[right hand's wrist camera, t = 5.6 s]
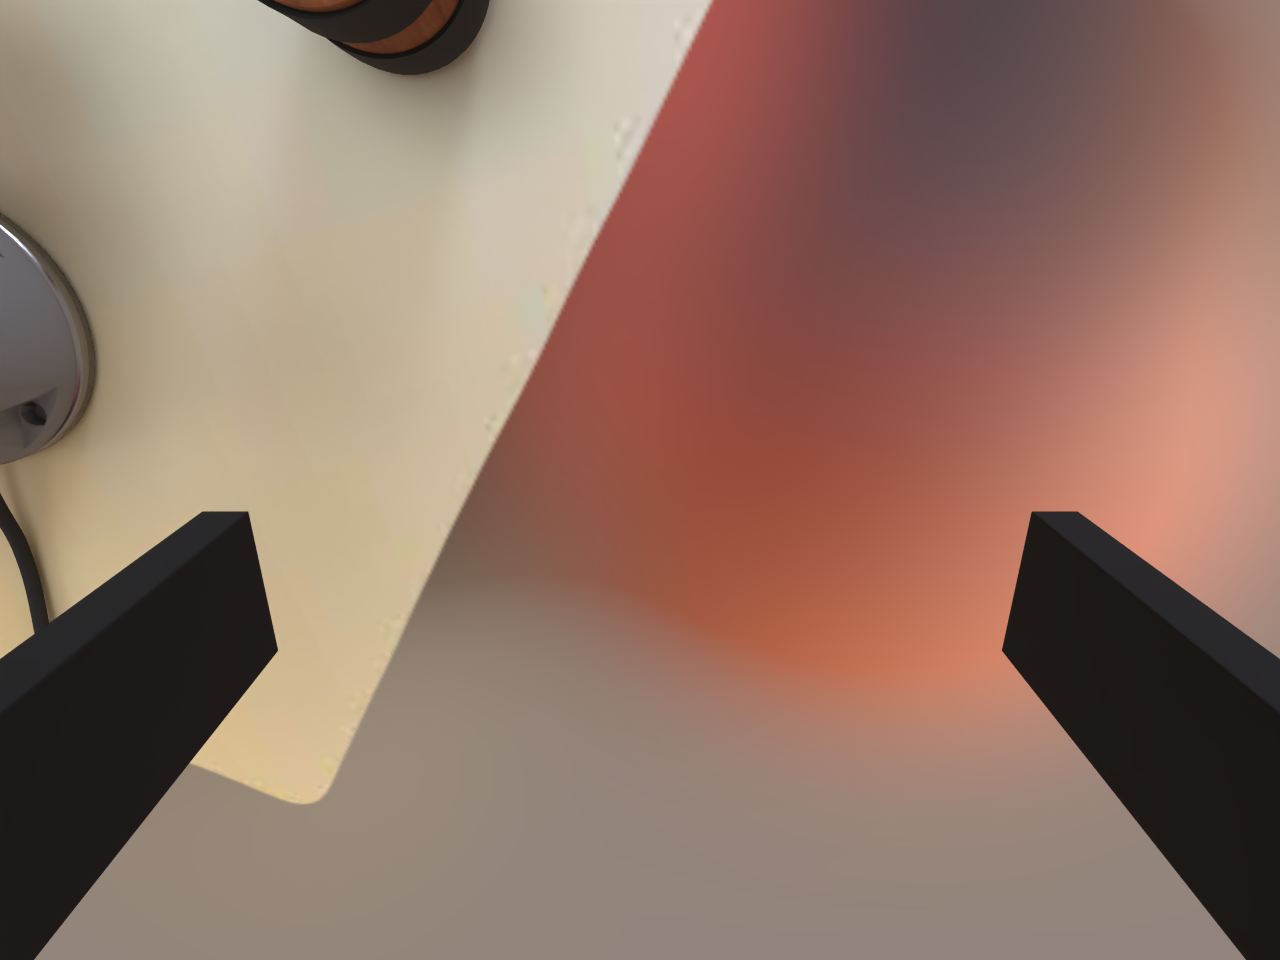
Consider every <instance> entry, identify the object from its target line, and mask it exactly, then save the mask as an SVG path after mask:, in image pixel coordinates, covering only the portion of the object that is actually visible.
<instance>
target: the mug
mask: <svg viewBox="0 0 1280 960" xmlns="http://www.w3.org/2000/svg"><path fill="white" fill-rule="evenodd" d="M258 1H260V2H262V3H263V4H265V5H267V6H268V7H270V8H272V9H274V10H276V11H278V12H280V13H282V14H284V15H285V16H287V17H289V18H291V19H292V20H294V21H295V22H297V23H299V24H300V25H302V26H304V27H305V28H307V29H309V30H310V31H312V32H314V33H316V34H319V35H321V36H323V37H326V38H327V39H328V40H329V41H331V42H332V43H333V44H335V45H336V46H338V47H339V48H340V49H342V50H343V51H345V52H346V53H348V54H350V55H351V56H353V57H355V58H356V59H358V60H360V61H362V62H364V63H366V64H368V65H370V66H373V67H375V68H377V69H380V70H384V71H387V72H390V73H396V74H403V75H416V74H422V73H428V72H431V71H434V70H437V69H439V68H441V67H443V66H446V65H448V64H449V63H450V62H452V61H453V60H455V59H456V58H458V57H459V56H460V55H461V54H462V53H463V52H464V51H465V50H466V49H467V48H468V46H469V45H470V44H471V43H472V41H473V40H474V38H475V37H476V35H477V33H478V32H479V30H480V28H481V26H482V23H483V21H484V19H485V16H486V12H487V9H488V5H489V0H258Z"/></svg>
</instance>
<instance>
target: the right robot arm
mask: <svg viewBox="0 0 1280 960" xmlns="http://www.w3.org/2000/svg"><path fill="white" fill-rule="evenodd" d="M94 373H95V356H94V348H93V341H92V337H91V332H90V328H89V325H88V322H87V319H86V316H85V314H84V311H83V309H82V307H81V304H80V302H79V300H78V298H77V296H76V294H75V292H74V290H73V289H72V287H71V285H70V284H69V282H68V280H67V279H66V277H65V276H64V274H63V273H62V272H61V270H60V269H59V268H58V266H57V265H56V263H55V262H54V261H53V260H52V259H51V257H50V256H49V255H48V254H47V253H46V252H45V251H44V249H43V248H42V247H41V246H40V245H39V244H38V243H37V242H36V241H35V240H34V239H33V238H32V237H30V236H29V235H28V234H27V233H26V232H25V231H23V230H22V229H21V228H20V227H19V226H18V225H16V224H15V223H13V222H12V221H11V220H9V219H8V218H7V217H5V216H4V215H2V214H1V213H0V464H5V463H9V462H12V461H16V460H19V459H21V458H24V457H26V456H29V455H31V454H33V453H36V452H38V451H40V450H43V449H45V448H47V447H49V446H50V445H52V444H54V443H55V442H57V441H58V440H60V439H61V438H63V437H64V436H65V435H66V434H67V433H68V432H69V431H70V430H71V429H72V428H73V427H74V426H75V424H76V423H77V422H78V420H79V419H80V417H81V416H82V414H83V413H84V410H85V408H86V406H87V404H88V402H89V398H90V395H91V392H92V387H93V382H94ZM0 528H1V530H2V531H3V533H4V534H5V536H6V538H7V540H8V542H9V544H10V546H11V548H12V550H13V553H14V555H15V558H16V561H17V563H18V566H19V569H20V572H21V575H22V579H23V582H24V586H25V590H26V594H27V598H28V603H29V607H30V612H31V617H32V623H33V628H34V633H35V634H34V635H33V636H31V637H30V638H28V639H27V640H26V641H24V642H23V643H22V644H20V645H19V646H17V647H16V648H15V649H13V650H12V651H11V652H9V653H8V654H6V655H5V656H4V657H2V658H1V659H0V960H34V959H35V958H36V956H37V955H38V954H39V953H40V951H41V950H42V949H43V948H44V946H45V945H46V944H47V943H48V941H49V940H50V939H51V937H52V936H53V935H54V934H55V932H56V931H57V930H58V929H59V927H60V926H61V925H62V924H63V922H64V921H65V920H66V918H67V917H68V916H69V915H70V913H71V912H72V911H73V910H74V908H75V907H76V906H77V905H78V903H79V902H80V901H81V899H82V898H83V897H84V896H85V894H86V893H87V892H88V891H89V889H90V888H91V887H92V886H93V884H94V883H95V882H96V880H97V879H98V878H99V877H100V875H101V874H102V873H103V872H104V870H105V869H106V868H107V867H108V865H109V864H110V863H111V862H112V860H113V859H114V858H115V856H116V855H117V854H118V853H119V851H120V850H121V849H122V848H123V846H124V845H125V844H126V842H127V841H128V840H129V839H130V837H131V836H132V835H133V834H134V832H135V831H136V830H137V829H138V827H139V826H140V825H141V824H142V822H143V821H144V820H145V818H146V817H147V816H148V815H149V813H150V812H151V811H152V810H153V808H154V807H155V806H156V805H157V803H158V802H159V801H160V799H161V798H162V797H163V796H164V794H165V793H166V792H167V791H168V789H169V788H170V787H171V786H172V784H173V783H174V782H175V781H176V779H177V778H178V777H179V775H180V774H181V773H182V772H183V770H184V769H185V768H186V767H187V765H188V764H189V763H190V762H191V760H192V759H193V758H194V756H195V755H196V754H197V753H198V751H199V750H200V749H201V748H202V746H203V745H204V744H205V743H206V741H207V740H208V739H209V737H210V736H211V735H212V734H213V732H214V731H215V730H216V729H217V727H218V726H219V725H220V724H221V722H222V721H223V720H224V718H225V717H226V716H227V715H228V713H229V712H230V711H231V710H232V708H233V707H234V706H235V705H236V703H237V702H238V701H239V699H240V698H241V697H242V696H243V694H244V693H245V692H246V691H247V689H248V688H249V687H250V686H251V684H252V683H253V682H254V681H255V679H256V678H257V677H258V675H259V674H260V673H261V672H262V670H263V669H264V668H265V667H266V665H267V664H268V663H269V662H270V660H271V659H272V658H273V656H274V655H275V654H276V653H277V651H278V648H277V643H276V639H275V634H274V629H273V625H272V620H271V615H270V611H269V606H268V601H267V597H266V592H265V588H264V583H263V578H262V574H261V569H260V564H259V560H258V555H257V550H256V546H255V541H254V536H253V532H252V527H251V522H250V518H249V513H248V512H201V513H200V514H198V515H197V516H196V517H194V518H193V519H192V520H190V521H189V522H187V523H186V524H185V525H183V526H182V527H181V528H179V529H178V530H177V531H175V532H174V533H172V534H171V535H170V536H168V537H167V538H166V539H164V540H163V541H161V542H160V543H159V544H157V545H156V546H155V547H153V548H152V549H150V550H149V551H148V552H146V553H145V554H144V555H142V556H141V557H140V558H138V559H137V560H135V561H134V562H133V563H131V564H130V565H129V566H127V567H126V568H124V569H123V570H122V571H120V572H119V573H118V574H116V575H115V576H113V577H112V578H111V579H109V580H108V581H107V582H105V583H104V584H102V585H101V586H100V587H98V588H97V589H96V590H94V591H93V592H92V593H90V594H89V595H87V596H86V597H85V598H83V599H82V600H81V601H79V602H78V603H76V604H75V605H74V606H72V607H71V608H70V609H68V610H67V611H65V612H64V613H63V614H61V615H60V616H59V617H57V618H56V619H54V620H53V621H52V622H50V623H49V621H48V615H47V610H46V605H45V600H44V595H43V590H42V586H41V582H40V578H39V574H38V571H37V567H36V564H35V561H34V558H33V555H32V553H31V550H30V547H29V545H28V542H27V540H26V538H25V536H24V534H23V532H22V530H21V528H20V527H19V525H18V523H17V522H16V520H15V518H14V517H13V515H12V513H11V512H10V510H9V508H8V507H7V505H6V503H5V501H4V499H3V497H2V495H1V494H0ZM1002 651H1003V653H1004V654H1005V655H1006V656H1007V658H1008V659H1009V660H1010V662H1011V663H1012V664H1013V665H1014V667H1015V668H1016V669H1017V670H1018V672H1019V673H1020V674H1021V675H1022V677H1023V678H1024V679H1025V681H1026V682H1027V683H1028V684H1029V686H1030V687H1031V688H1032V689H1033V691H1034V692H1035V693H1036V694H1037V696H1038V697H1039V698H1040V699H1041V701H1042V702H1043V703H1044V705H1045V706H1046V707H1047V708H1048V710H1049V711H1050V712H1051V713H1052V715H1053V716H1054V717H1055V718H1056V720H1057V721H1058V722H1059V724H1060V725H1061V726H1062V727H1063V729H1064V730H1065V731H1066V732H1067V734H1068V735H1069V736H1070V737H1071V739H1072V740H1073V741H1074V742H1075V744H1076V745H1077V746H1078V748H1079V749H1080V750H1081V751H1082V753H1083V754H1084V755H1085V756H1086V758H1087V759H1088V760H1089V762H1090V763H1091V764H1092V765H1093V767H1094V768H1095V769H1096V770H1097V772H1098V773H1099V774H1100V775H1101V777H1102V778H1103V779H1104V780H1105V782H1106V783H1107V784H1108V786H1109V787H1110V788H1111V789H1112V791H1113V792H1114V793H1115V794H1116V796H1117V797H1118V798H1119V799H1120V801H1121V802H1122V803H1123V805H1124V806H1125V807H1126V808H1127V810H1128V811H1129V812H1130V813H1131V815H1132V816H1133V817H1134V818H1135V820H1136V821H1137V822H1138V824H1139V825H1140V826H1141V827H1142V829H1143V830H1144V831H1145V832H1146V834H1147V835H1148V836H1149V837H1150V839H1151V840H1152V841H1153V843H1154V844H1155V845H1156V846H1157V848H1158V849H1159V850H1160V851H1161V853H1162V854H1163V855H1164V856H1165V858H1166V859H1167V860H1168V862H1169V863H1170V864H1171V865H1172V867H1173V868H1174V869H1175V870H1176V872H1177V873H1178V874H1179V875H1180V877H1181V878H1182V879H1183V881H1184V882H1185V883H1186V884H1187V885H1188V887H1189V888H1190V889H1191V891H1192V892H1193V893H1194V894H1195V896H1196V897H1197V898H1198V899H1199V901H1200V902H1201V903H1202V905H1203V906H1204V907H1205V908H1206V910H1207V911H1208V912H1209V913H1210V915H1211V916H1212V917H1213V918H1214V920H1215V921H1216V922H1217V924H1218V925H1219V926H1220V927H1221V929H1222V930H1223V931H1224V932H1225V934H1226V935H1227V936H1228V937H1229V939H1230V940H1231V941H1232V943H1233V944H1234V945H1235V946H1236V948H1237V949H1238V950H1239V951H1240V953H1241V954H1242V955H1243V956H1244V958H1245V959H1246V960H1280V659H1279V658H1278V657H1276V656H1275V655H1274V654H1272V653H1271V652H1269V651H1268V650H1267V649H1265V648H1264V647H1262V646H1261V645H1260V644H1258V643H1257V642H1256V641H1254V640H1253V639H1252V638H1250V637H1249V636H1247V635H1246V634H1245V633H1243V632H1242V631H1241V630H1239V629H1238V628H1236V627H1235V626H1234V625H1232V624H1231V623H1230V622H1228V621H1227V620H1225V619H1224V618H1223V617H1221V616H1220V615H1219V614H1217V613H1216V612H1215V611H1213V610H1212V609H1210V608H1209V607H1208V606H1206V605H1205V604H1204V603H1202V602H1201V601H1199V600H1198V599H1197V598H1195V597H1194V596H1193V595H1191V594H1190V593H1188V592H1187V591H1186V590H1184V589H1183V588H1182V587H1180V586H1179V585H1178V584H1176V583H1175V582H1173V581H1172V580H1171V579H1169V578H1168V577H1167V576H1165V575H1164V574H1162V573H1161V572H1160V571H1158V570H1157V569H1156V568H1154V567H1153V566H1151V565H1150V564H1149V563H1147V562H1146V561H1145V560H1143V559H1142V558H1140V557H1139V556H1138V555H1136V554H1135V553H1134V552H1132V551H1131V550H1130V549H1128V548H1127V547H1125V546H1124V545H1123V544H1121V543H1120V542H1118V541H1117V540H1116V539H1114V538H1113V537H1112V536H1110V535H1109V534H1108V533H1106V532H1105V531H1103V530H1102V529H1101V528H1099V527H1098V526H1097V525H1095V524H1094V523H1092V522H1091V521H1090V520H1088V519H1087V518H1086V517H1084V516H1083V515H1082V514H1080V513H1079V512H1032V513H1031V518H1030V522H1029V527H1028V532H1027V536H1026V541H1025V546H1024V550H1023V555H1022V560H1021V564H1020V569H1019V574H1018V578H1017V583H1016V588H1015V592H1014V597H1013V601H1012V606H1011V611H1010V615H1009V620H1008V625H1007V629H1006V634H1005V639H1004V643H1003V648H1002Z"/></svg>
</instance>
